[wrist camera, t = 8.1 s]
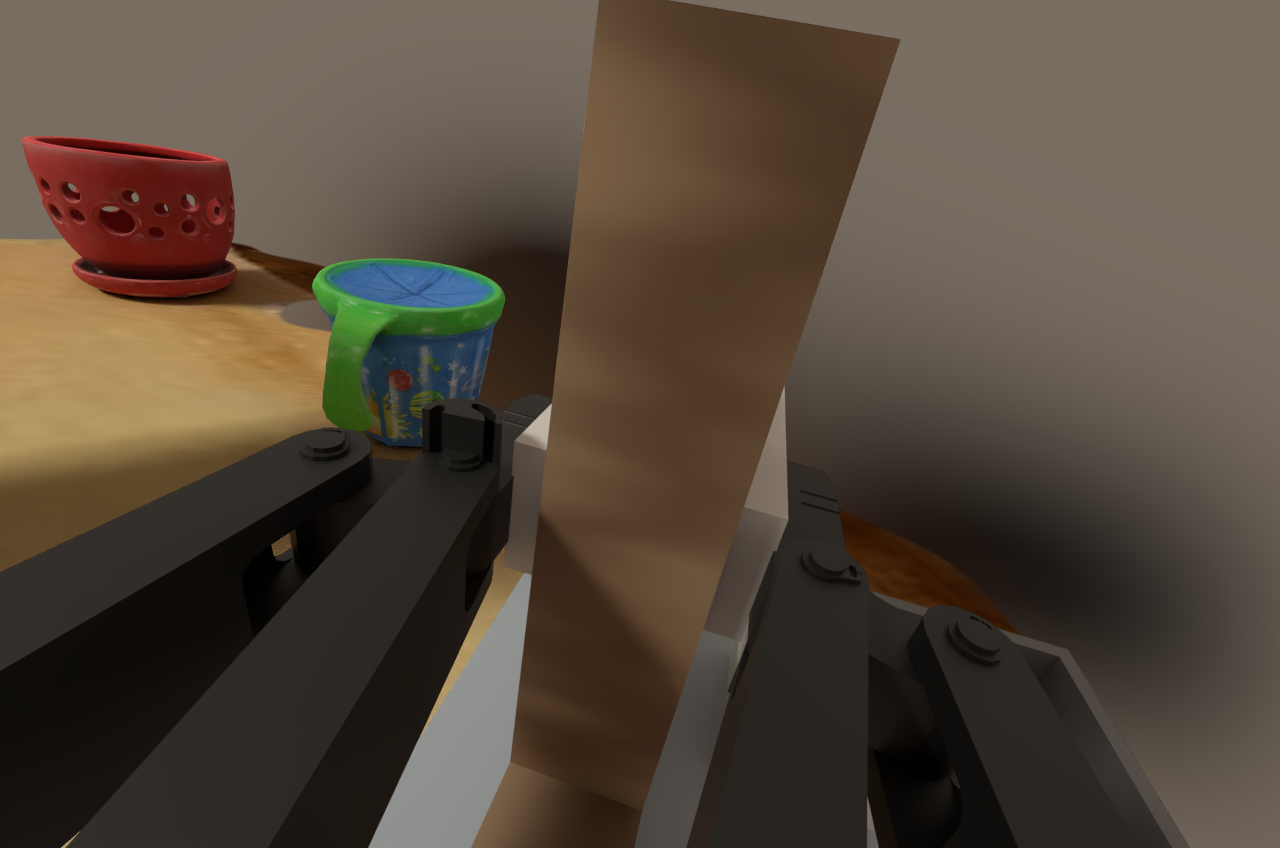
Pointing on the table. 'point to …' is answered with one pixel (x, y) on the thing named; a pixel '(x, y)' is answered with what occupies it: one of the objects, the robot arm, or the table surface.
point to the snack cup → (402, 341)
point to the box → (1092, 738)
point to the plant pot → (138, 214)
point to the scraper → (668, 377)
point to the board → (483, 733)
